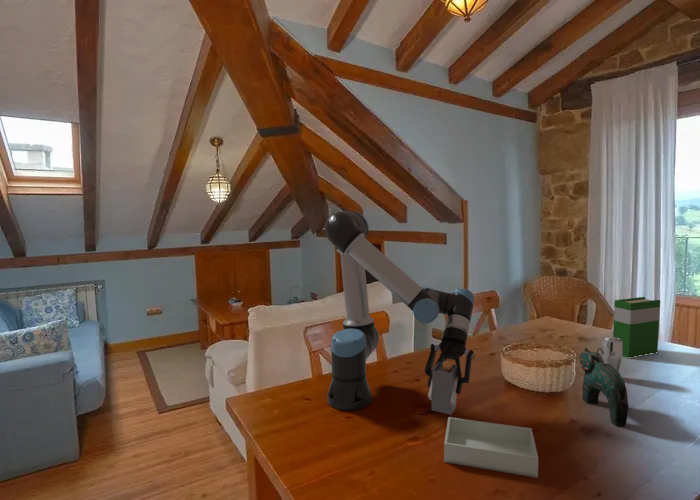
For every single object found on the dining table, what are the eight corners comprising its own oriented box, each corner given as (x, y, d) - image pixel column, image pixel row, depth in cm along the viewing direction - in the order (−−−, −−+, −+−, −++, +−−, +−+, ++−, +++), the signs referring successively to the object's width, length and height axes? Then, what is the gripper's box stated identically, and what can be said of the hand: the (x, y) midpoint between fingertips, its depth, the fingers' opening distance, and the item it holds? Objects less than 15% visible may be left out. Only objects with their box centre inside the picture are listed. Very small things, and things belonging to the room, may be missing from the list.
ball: (440, 368, 120) (445, 359, 120) (440, 365, 123) (445, 357, 123) (449, 373, 120) (454, 365, 119) (449, 370, 123) (454, 362, 122)
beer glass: (625, 382, 150) (627, 342, 148) (604, 381, 151) (606, 341, 150) (616, 374, 156) (618, 337, 155) (597, 373, 158) (598, 336, 156)
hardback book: (640, 348, 186) (643, 296, 184) (657, 353, 179) (660, 300, 177) (612, 353, 180) (614, 300, 178) (628, 358, 173) (631, 303, 171)
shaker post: (437, 401, 127) (438, 361, 126) (456, 406, 124) (457, 365, 123) (431, 410, 122) (432, 368, 120) (451, 414, 119) (452, 372, 117)
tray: (444, 461, 104) (444, 443, 103) (448, 433, 117) (448, 416, 116) (537, 477, 97) (538, 458, 96) (531, 445, 110) (531, 428, 110)
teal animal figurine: (576, 397, 138) (578, 340, 137) (595, 397, 138) (597, 340, 136) (612, 428, 119) (615, 361, 117) (634, 428, 118) (638, 361, 117)
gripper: (487, 342, 130) (475, 413, 117) (429, 333, 139) (413, 398, 126) (484, 330, 125) (472, 403, 112) (425, 322, 134) (407, 388, 121)
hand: (441, 400), depth 119 cm, fingers closed on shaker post, 6 cm apart
